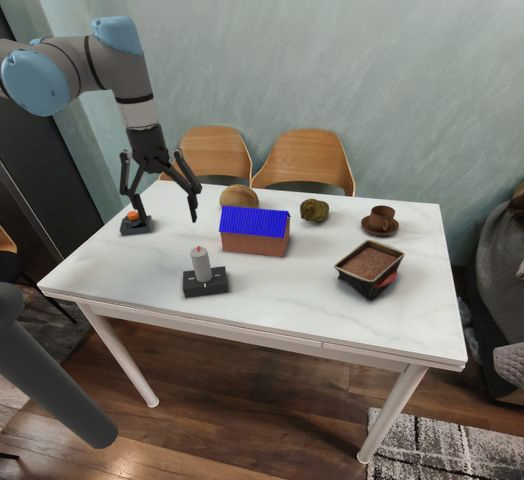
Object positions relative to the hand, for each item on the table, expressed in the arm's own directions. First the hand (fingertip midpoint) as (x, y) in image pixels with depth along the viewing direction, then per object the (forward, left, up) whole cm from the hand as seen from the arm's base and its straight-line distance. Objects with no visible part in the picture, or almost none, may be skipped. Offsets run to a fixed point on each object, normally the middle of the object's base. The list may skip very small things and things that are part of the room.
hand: (169, 220), depth 81 cm
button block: (-16, +26, -15) cm, 34 cm away
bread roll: (+21, +32, -15) cm, 41 cm away
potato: (+46, +17, -15) cm, 51 cm away
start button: (-16, +26, -11) cm, 33 cm away
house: (+24, +7, -15) cm, 29 cm away
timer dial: (+7, -11, -12) cm, 17 cm away
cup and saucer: (+65, +7, -15) cm, 67 cm away
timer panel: (+7, -11, -15) cm, 19 cm away
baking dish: (+51, -18, -15) cm, 56 cm away
